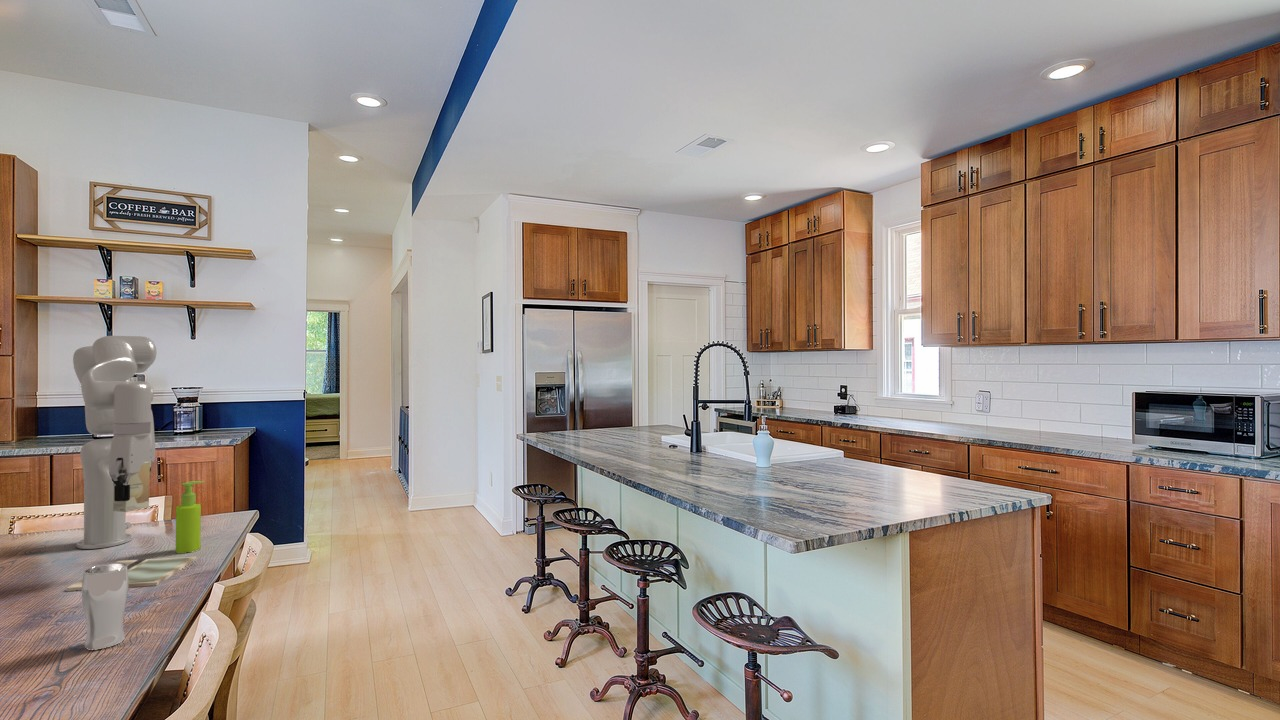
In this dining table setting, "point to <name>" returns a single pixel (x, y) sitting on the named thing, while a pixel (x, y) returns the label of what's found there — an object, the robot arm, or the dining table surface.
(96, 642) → the beer glass
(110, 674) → the dining table surface
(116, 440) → the robot arm
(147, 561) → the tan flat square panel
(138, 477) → the skincare box
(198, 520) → the soap dispenser
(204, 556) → the dining table surface
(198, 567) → the dining table surface
